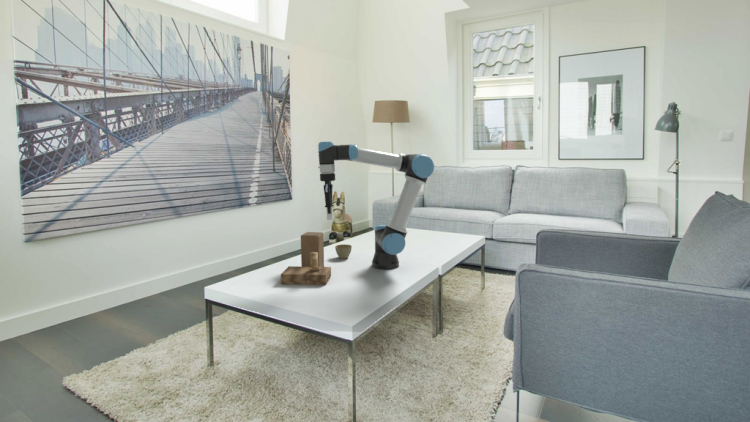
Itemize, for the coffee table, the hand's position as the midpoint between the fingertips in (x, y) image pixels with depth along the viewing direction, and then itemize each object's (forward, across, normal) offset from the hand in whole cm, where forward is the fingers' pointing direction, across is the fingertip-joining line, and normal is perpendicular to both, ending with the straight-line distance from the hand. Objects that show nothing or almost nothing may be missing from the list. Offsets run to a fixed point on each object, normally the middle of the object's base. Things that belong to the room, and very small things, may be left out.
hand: (330, 219), depth 218 cm
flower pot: (+30, -38, +1) cm, 48 cm away
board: (+29, +7, -12) cm, 32 cm away
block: (+30, -12, -13) cm, 34 cm away
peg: (+29, +7, -8) cm, 31 cm away
